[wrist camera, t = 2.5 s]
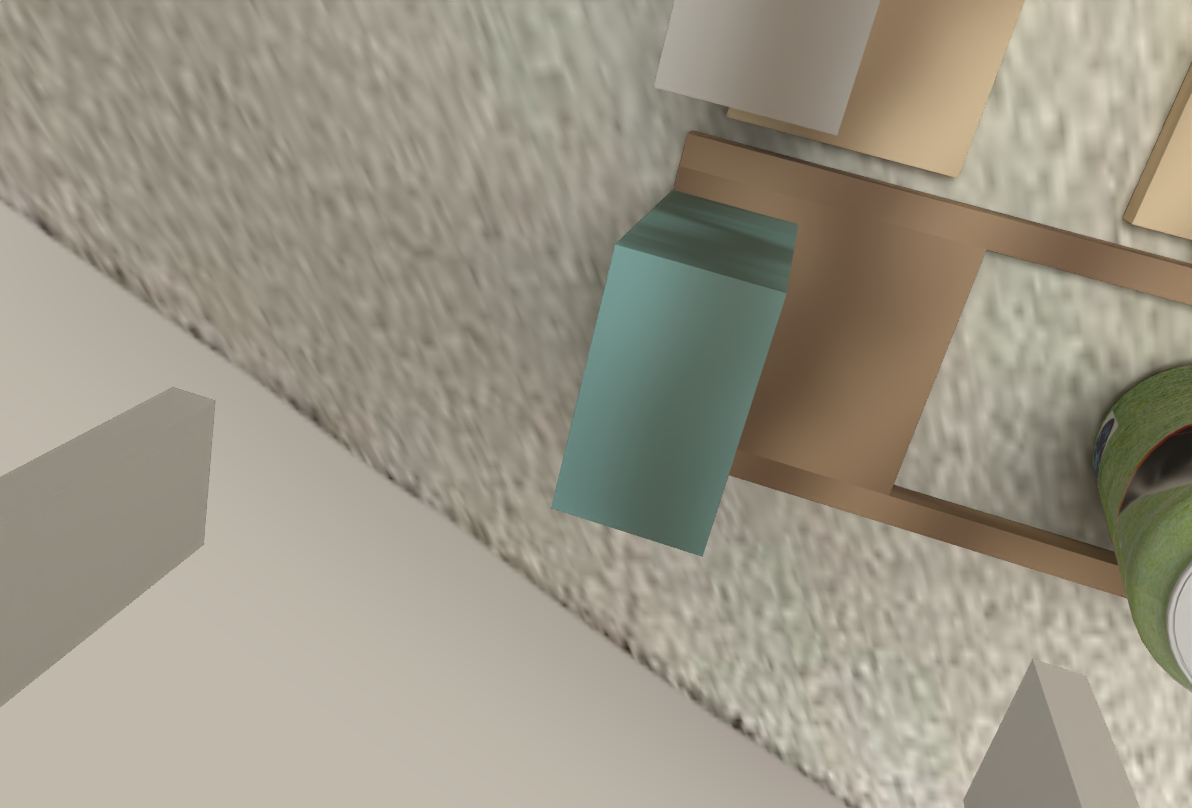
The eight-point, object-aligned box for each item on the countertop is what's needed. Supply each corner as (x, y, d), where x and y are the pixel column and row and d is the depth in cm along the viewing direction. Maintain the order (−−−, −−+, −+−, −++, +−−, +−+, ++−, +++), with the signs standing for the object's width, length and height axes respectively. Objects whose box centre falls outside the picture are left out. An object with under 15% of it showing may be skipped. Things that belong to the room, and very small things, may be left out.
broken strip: (698, 106, 30) (642, 134, 21) (774, -184, 27) (747, -298, 18) (1406, 293, 28) (1689, 416, 19) (1578, -3, 25) (2015, -29, 16)
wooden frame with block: (614, 427, 35) (537, 565, 26) (692, 130, 31) (633, 168, 22) (1268, 628, 32) (1443, 862, 23) (1447, 332, 28) (1747, 473, 19)
